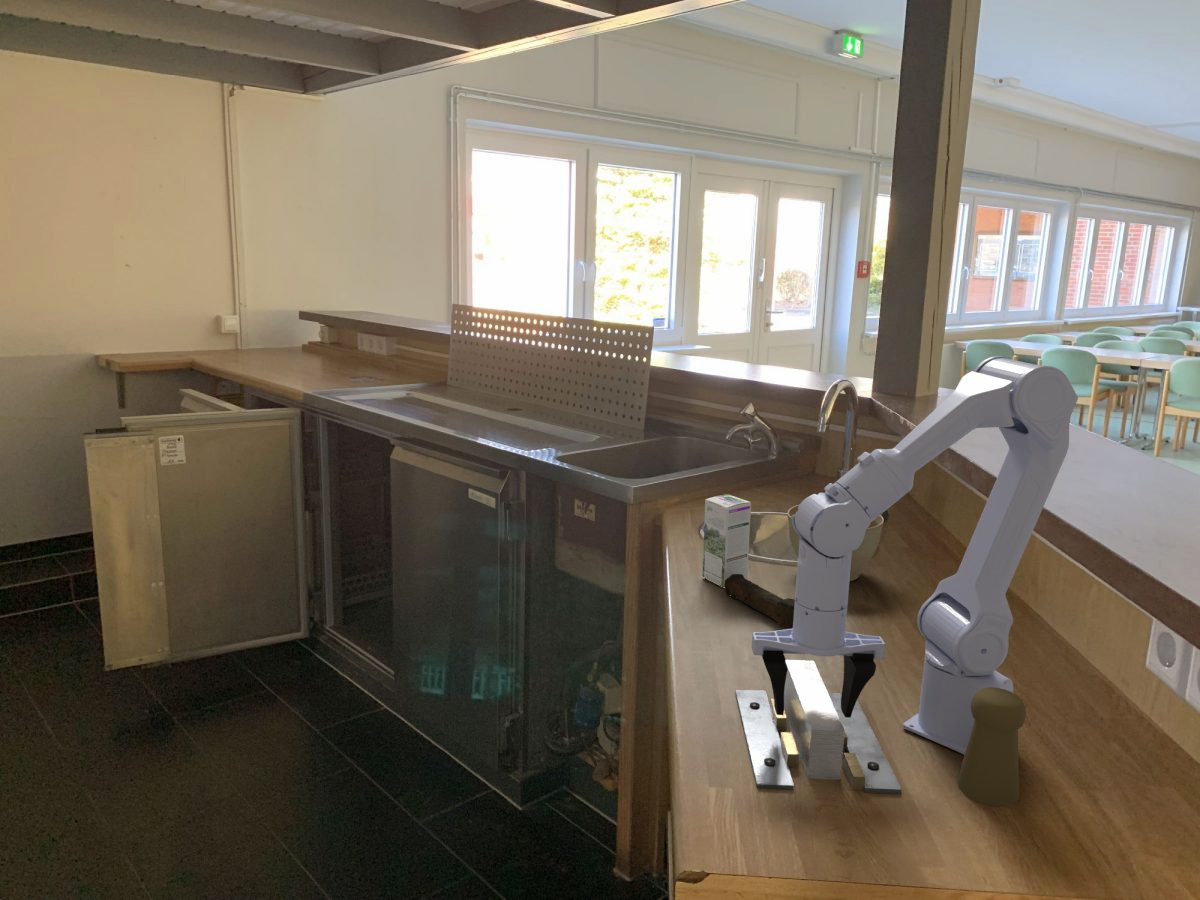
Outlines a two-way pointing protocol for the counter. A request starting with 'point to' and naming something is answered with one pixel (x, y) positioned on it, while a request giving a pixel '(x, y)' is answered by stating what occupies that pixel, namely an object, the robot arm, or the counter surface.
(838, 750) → the aluminum bar stock
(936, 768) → the counter surface
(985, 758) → the cork
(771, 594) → the brown wooden log
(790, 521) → the planter bowl
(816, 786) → the counter surface
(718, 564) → the syrup box
